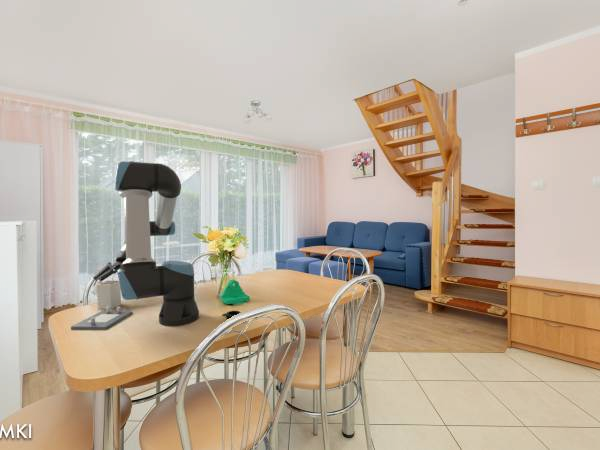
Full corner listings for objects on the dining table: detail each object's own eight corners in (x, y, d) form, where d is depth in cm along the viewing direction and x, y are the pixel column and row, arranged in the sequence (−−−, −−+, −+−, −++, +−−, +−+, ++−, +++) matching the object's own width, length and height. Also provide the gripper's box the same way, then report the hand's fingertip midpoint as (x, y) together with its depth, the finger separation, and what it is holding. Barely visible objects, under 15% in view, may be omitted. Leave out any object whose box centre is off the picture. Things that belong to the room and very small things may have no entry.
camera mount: (226, 306, 137) (226, 284, 137) (220, 302, 143) (220, 281, 143) (250, 302, 144) (250, 280, 144) (243, 298, 150) (243, 277, 150)
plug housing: (120, 304, 140) (120, 280, 139) (111, 309, 133) (110, 284, 132) (108, 304, 140) (107, 280, 139) (97, 309, 133) (96, 283, 132)
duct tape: (227, 326, 115) (227, 318, 115) (220, 317, 123) (220, 311, 123) (247, 322, 119) (247, 315, 118) (238, 314, 127) (238, 307, 127)
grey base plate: (132, 313, 127) (132, 305, 127) (105, 329, 111) (105, 320, 110) (102, 313, 128) (102, 305, 128) (71, 329, 111) (70, 319, 111)
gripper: (154, 260, 152) (138, 298, 138) (106, 259, 153) (85, 297, 139) (148, 251, 147) (131, 290, 133) (98, 250, 147) (76, 289, 133)
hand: (108, 293), depth 136 cm, fingers open, 13 cm apart
